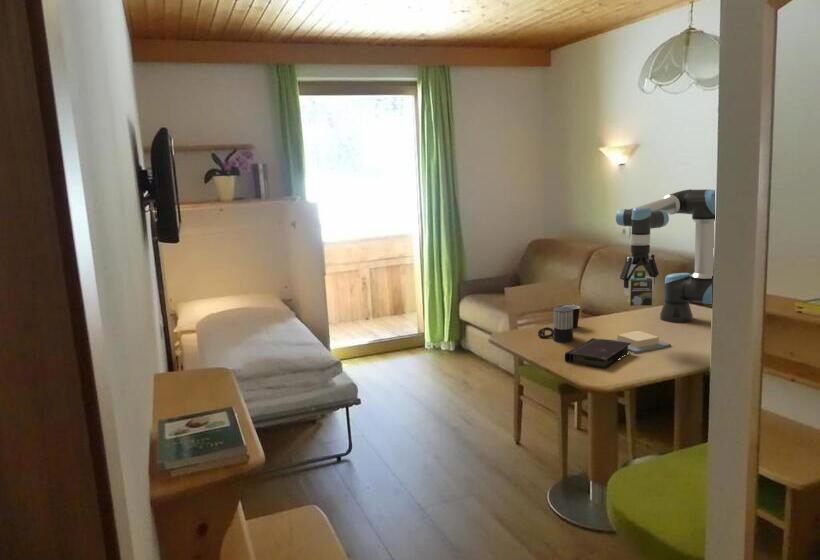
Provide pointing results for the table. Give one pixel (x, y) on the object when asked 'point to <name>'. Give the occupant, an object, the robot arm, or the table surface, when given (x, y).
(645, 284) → the chalk box
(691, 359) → the table surface
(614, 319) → the table surface
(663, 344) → the board
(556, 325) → the milk frother
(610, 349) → the diary
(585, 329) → the table surface
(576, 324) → the coffee mug
